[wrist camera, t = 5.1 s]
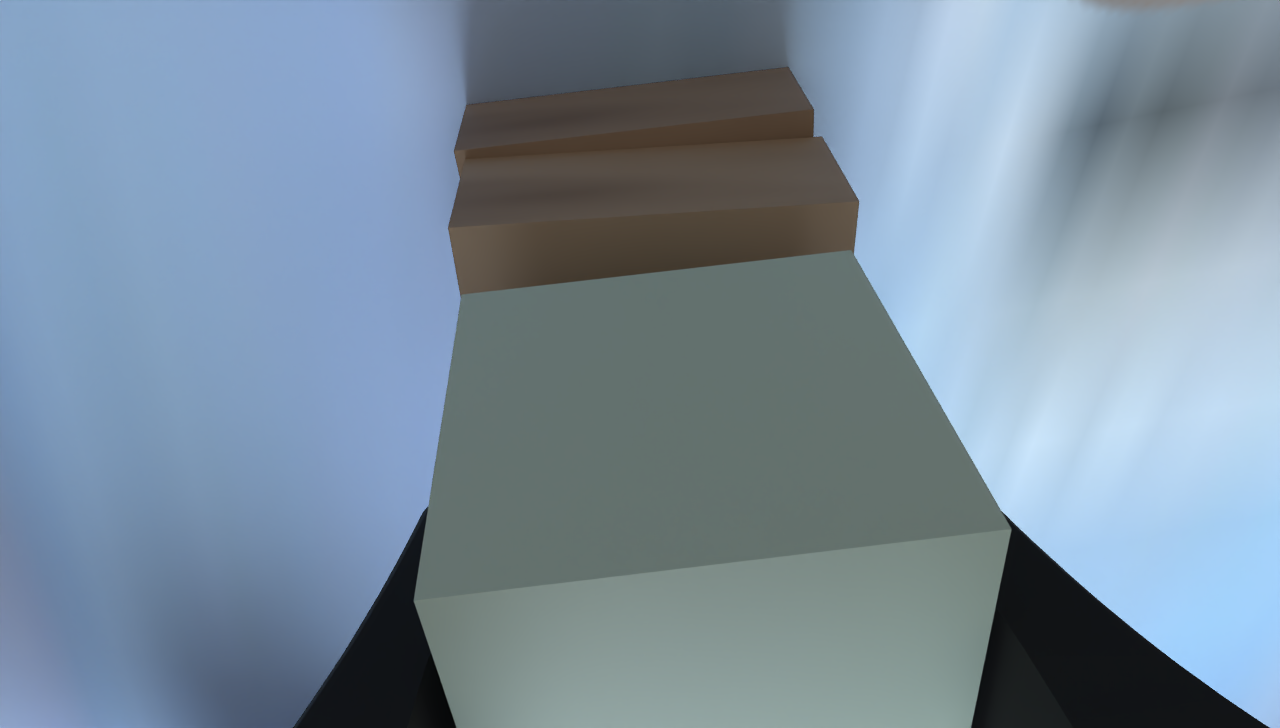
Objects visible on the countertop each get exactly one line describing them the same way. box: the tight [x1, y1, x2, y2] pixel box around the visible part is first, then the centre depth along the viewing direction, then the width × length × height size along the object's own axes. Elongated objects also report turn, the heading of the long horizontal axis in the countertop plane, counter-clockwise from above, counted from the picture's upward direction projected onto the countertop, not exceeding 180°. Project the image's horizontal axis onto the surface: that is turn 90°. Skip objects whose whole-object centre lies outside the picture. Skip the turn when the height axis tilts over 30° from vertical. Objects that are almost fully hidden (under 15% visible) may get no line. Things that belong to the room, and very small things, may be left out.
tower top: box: [448, 137, 859, 296], centre depth 16 cm, size 6×6×2 cm
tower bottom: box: [454, 67, 814, 177], centre depth 18 cm, size 6×6×2 cm
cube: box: [414, 250, 1011, 728], centre depth 11 cm, size 5×5×5 cm
